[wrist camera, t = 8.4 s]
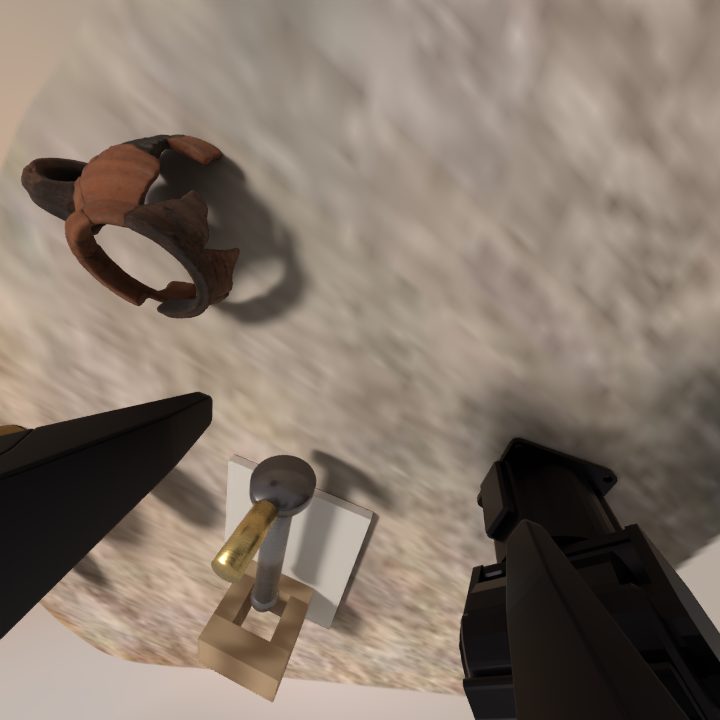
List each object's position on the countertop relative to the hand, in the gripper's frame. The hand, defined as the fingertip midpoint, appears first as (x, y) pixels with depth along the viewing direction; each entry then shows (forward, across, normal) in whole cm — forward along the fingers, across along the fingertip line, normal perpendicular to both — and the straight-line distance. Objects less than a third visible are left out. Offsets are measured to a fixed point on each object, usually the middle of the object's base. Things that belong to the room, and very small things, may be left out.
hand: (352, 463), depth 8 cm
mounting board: (+12, +5, +27) cm, 30 cm away
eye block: (+12, +5, +33) cm, 35 cm away
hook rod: (+11, +5, +20) cm, 23 cm away
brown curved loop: (+13, +17, -3) cm, 21 cm away
